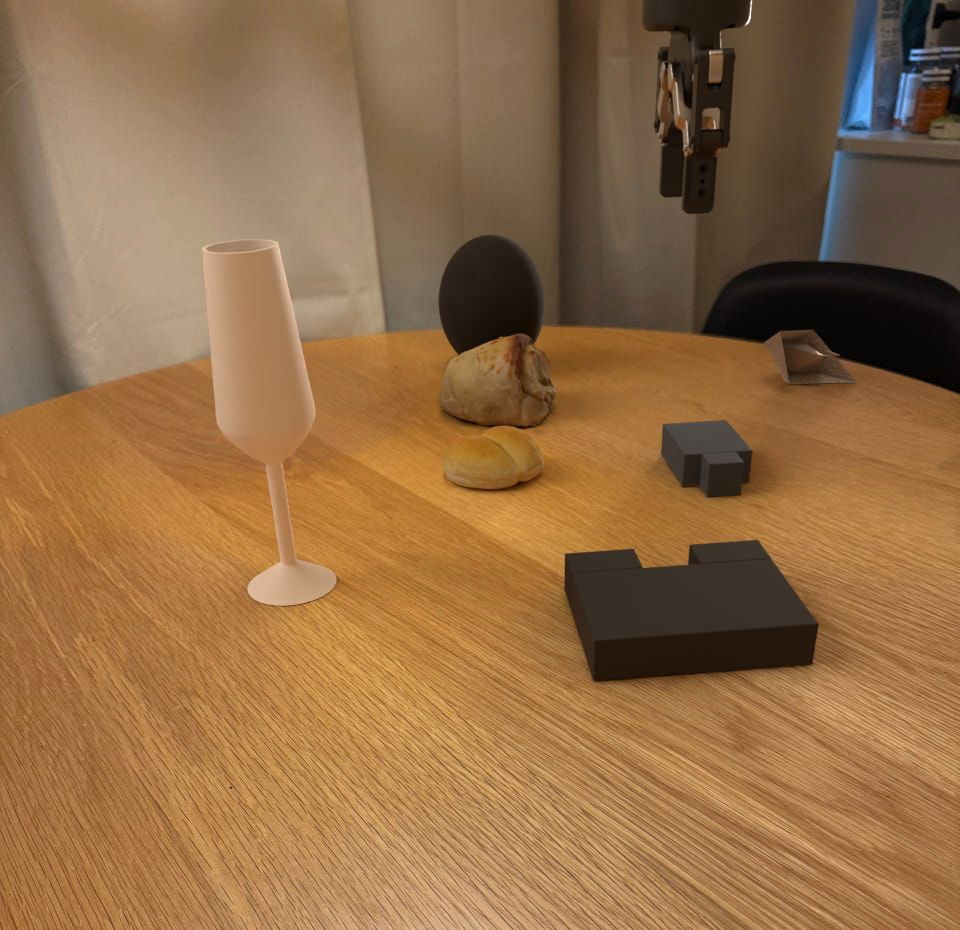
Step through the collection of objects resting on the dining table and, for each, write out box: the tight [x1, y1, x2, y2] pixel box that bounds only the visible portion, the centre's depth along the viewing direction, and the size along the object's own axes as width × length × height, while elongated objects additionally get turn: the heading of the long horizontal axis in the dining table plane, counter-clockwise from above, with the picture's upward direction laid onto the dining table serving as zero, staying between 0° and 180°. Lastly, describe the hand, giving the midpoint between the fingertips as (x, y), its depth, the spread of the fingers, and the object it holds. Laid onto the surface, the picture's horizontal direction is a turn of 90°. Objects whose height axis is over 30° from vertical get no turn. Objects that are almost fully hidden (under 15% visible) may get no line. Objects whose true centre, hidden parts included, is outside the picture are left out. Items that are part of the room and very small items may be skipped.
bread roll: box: [442, 425, 545, 490], centre depth 91 cm, size 8×9×4 cm
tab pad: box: [660, 419, 753, 498], centre depth 90 cm, size 6×10×3 cm, turn 5°
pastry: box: [438, 334, 558, 428], centre depth 106 cm, size 14×12×8 cm
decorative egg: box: [438, 234, 546, 356], centre depth 117 cm, size 12×12×15 cm
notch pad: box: [564, 539, 820, 682], centre depth 67 cm, size 14×12×3 cm
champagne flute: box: [201, 238, 338, 607], centre depth 69 cm, size 7×7×24 cm
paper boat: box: [763, 329, 857, 385], centre depth 110 cm, size 12×6×9 cm
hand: (684, 204), depth 77 cm, fingers open, 8 cm apart
